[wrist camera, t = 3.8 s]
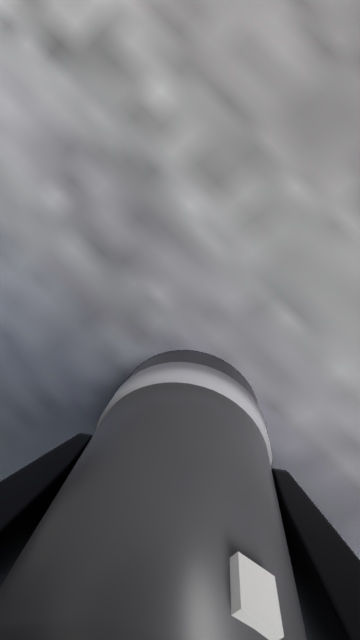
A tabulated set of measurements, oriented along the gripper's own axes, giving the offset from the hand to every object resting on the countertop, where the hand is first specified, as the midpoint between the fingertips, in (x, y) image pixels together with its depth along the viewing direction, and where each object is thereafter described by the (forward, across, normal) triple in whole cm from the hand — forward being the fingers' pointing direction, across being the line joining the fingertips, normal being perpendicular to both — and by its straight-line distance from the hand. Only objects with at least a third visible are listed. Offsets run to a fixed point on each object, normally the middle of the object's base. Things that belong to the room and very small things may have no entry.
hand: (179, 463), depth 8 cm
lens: (+2, 0, 0) cm, 2 cm away
